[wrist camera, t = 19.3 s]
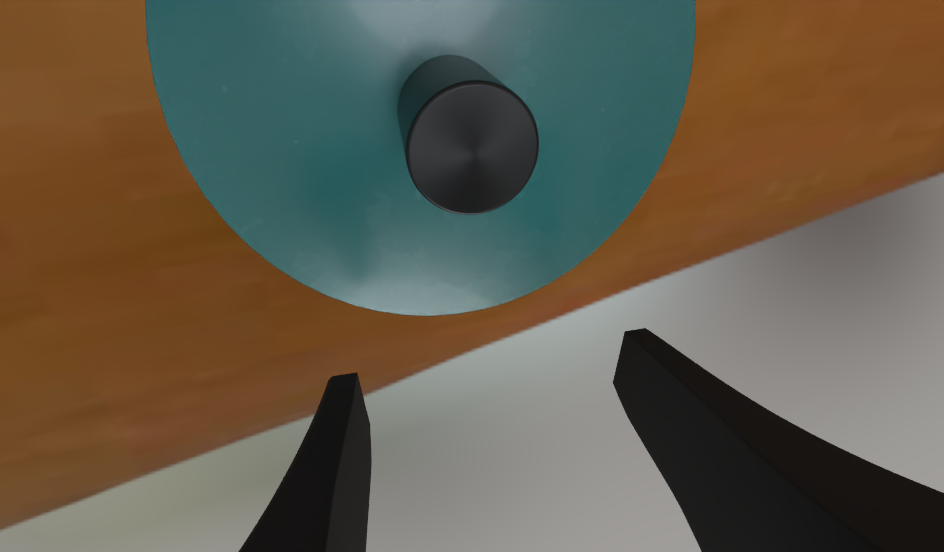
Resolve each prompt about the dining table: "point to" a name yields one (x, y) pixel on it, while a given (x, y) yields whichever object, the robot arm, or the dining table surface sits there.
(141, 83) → the dining table surface
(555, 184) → the lid
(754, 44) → the dining table surface
